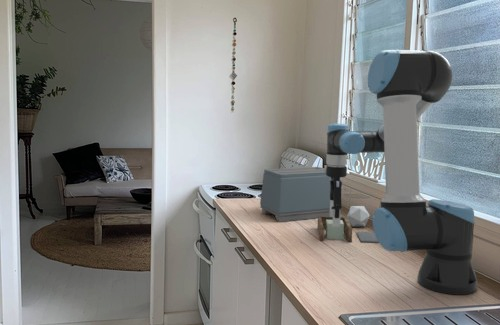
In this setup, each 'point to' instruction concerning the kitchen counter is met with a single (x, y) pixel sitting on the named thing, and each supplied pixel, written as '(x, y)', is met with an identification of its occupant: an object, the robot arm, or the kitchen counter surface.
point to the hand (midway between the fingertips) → (334, 221)
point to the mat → (367, 237)
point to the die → (358, 216)
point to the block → (334, 230)
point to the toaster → (296, 193)
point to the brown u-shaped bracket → (323, 219)
